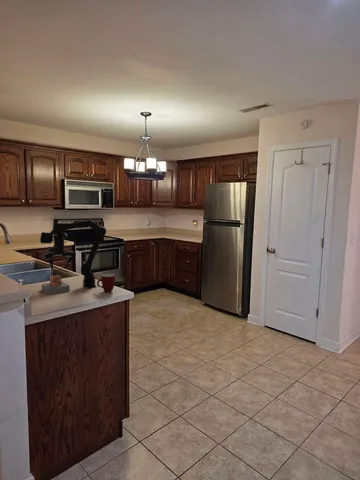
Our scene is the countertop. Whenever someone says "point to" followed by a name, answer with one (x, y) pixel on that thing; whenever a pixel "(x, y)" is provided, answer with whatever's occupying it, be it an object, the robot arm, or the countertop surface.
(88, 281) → the robot arm
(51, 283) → the cube
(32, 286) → the countertop surface
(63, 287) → the plinth
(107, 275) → the mug
